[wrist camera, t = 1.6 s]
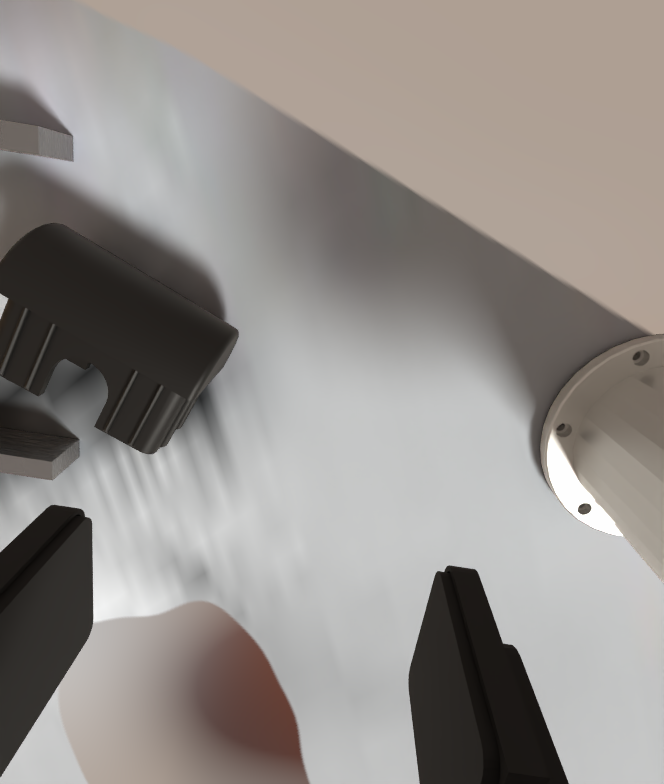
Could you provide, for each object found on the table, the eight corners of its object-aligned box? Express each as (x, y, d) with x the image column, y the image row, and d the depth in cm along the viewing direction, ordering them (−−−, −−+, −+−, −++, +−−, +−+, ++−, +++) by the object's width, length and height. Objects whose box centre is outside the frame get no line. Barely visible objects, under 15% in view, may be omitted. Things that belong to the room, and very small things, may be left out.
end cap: (252, 318, 28) (223, 347, 22) (196, 415, 30) (155, 468, 24) (90, 220, 27) (8, 220, 20) (44, 329, 29) (-44, 361, 23)
